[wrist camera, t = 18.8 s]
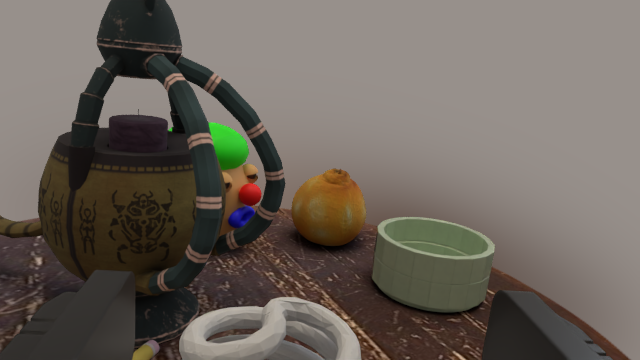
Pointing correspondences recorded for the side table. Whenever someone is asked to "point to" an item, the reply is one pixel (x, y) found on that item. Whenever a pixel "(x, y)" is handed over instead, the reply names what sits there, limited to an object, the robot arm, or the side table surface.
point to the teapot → (147, 175)
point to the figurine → (235, 177)
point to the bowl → (432, 263)
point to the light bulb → (271, 333)
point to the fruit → (329, 209)
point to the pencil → (146, 351)
